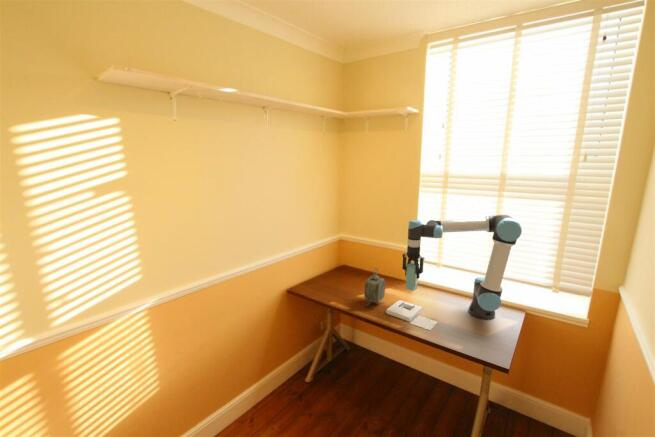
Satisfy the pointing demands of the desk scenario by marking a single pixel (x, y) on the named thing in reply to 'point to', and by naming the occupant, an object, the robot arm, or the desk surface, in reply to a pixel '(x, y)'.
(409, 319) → the white square socket base
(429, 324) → the pad
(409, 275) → the teal square pillar
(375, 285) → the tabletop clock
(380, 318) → the desk surface
